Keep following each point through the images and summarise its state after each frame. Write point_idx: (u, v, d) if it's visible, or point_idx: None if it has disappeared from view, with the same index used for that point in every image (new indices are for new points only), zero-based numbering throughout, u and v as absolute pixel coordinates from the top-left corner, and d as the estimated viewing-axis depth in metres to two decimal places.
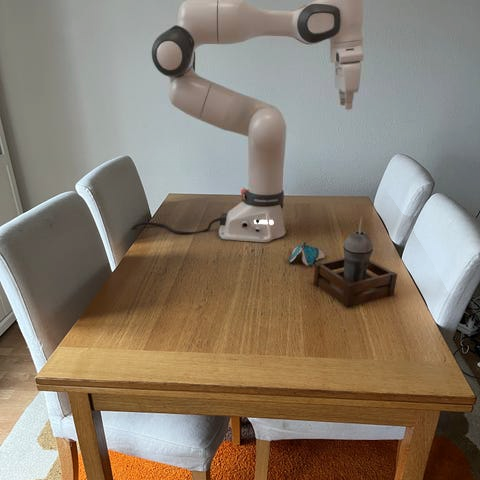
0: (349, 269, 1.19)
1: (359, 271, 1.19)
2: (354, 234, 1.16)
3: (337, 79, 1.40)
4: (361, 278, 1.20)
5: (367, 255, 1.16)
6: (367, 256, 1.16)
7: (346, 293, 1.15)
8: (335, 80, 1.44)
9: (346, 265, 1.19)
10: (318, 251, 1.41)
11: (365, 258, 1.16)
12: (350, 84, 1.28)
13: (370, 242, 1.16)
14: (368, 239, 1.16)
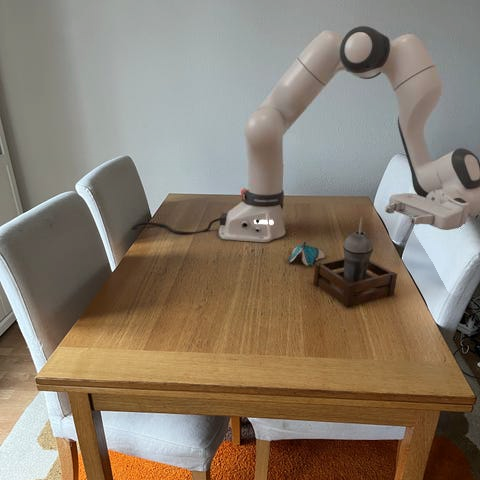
0: (349, 269, 1.19)
1: (359, 271, 1.19)
2: (354, 234, 1.16)
3: (411, 199, 1.24)
4: (361, 278, 1.20)
5: (367, 255, 1.16)
6: (367, 256, 1.16)
7: (346, 293, 1.15)
8: (399, 196, 1.27)
9: (346, 265, 1.19)
10: (318, 251, 1.41)
11: (365, 258, 1.16)
12: (452, 219, 1.14)
13: (370, 242, 1.16)
14: (368, 239, 1.16)
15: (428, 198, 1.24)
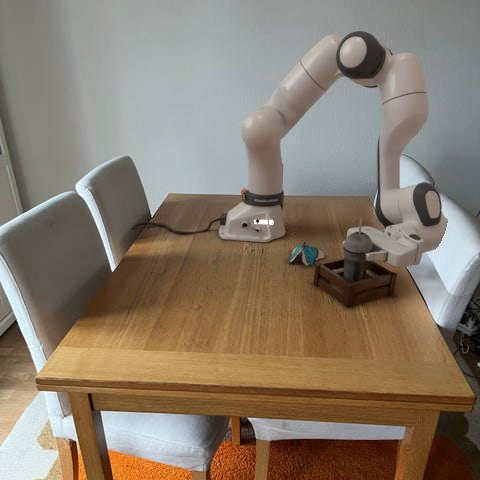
0: (349, 269, 1.19)
1: (359, 271, 1.19)
2: (354, 234, 1.16)
3: (368, 234, 1.23)
4: (361, 278, 1.20)
5: None
6: None
7: (346, 293, 1.15)
8: (357, 229, 1.26)
9: (346, 265, 1.19)
10: (318, 251, 1.41)
11: None
12: (405, 257, 1.13)
13: (370, 242, 1.16)
14: (368, 239, 1.16)
15: (384, 233, 1.22)
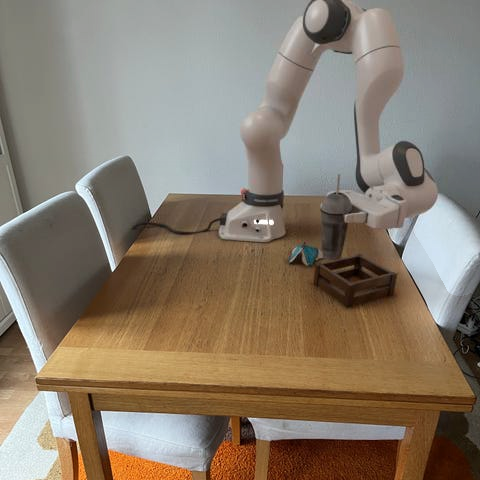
0: (327, 233, 1.11)
1: (337, 235, 1.10)
2: (331, 194, 1.08)
3: (348, 196, 1.15)
4: (340, 243, 1.12)
5: None
6: None
7: (346, 293, 1.15)
8: None
9: (324, 229, 1.11)
10: (318, 251, 1.41)
11: None
12: (386, 218, 1.04)
13: (349, 202, 1.07)
14: (346, 199, 1.07)
15: (365, 195, 1.14)
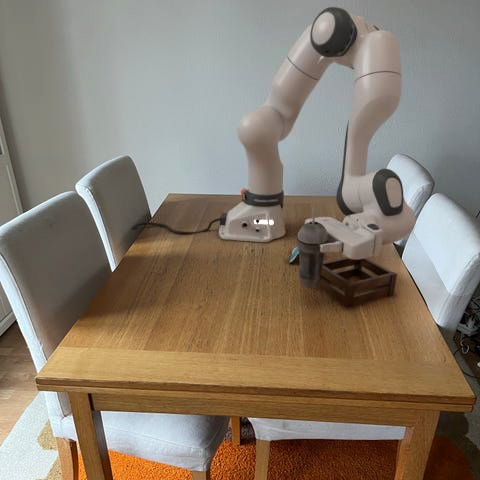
0: (304, 262, 1.11)
1: (314, 264, 1.11)
2: (307, 224, 1.08)
3: (325, 224, 1.15)
4: (317, 271, 1.12)
5: None
6: None
7: (346, 293, 1.15)
8: None
9: (301, 257, 1.12)
10: None
11: None
12: (361, 248, 1.05)
13: (324, 232, 1.08)
14: (322, 229, 1.08)
15: (342, 223, 1.15)
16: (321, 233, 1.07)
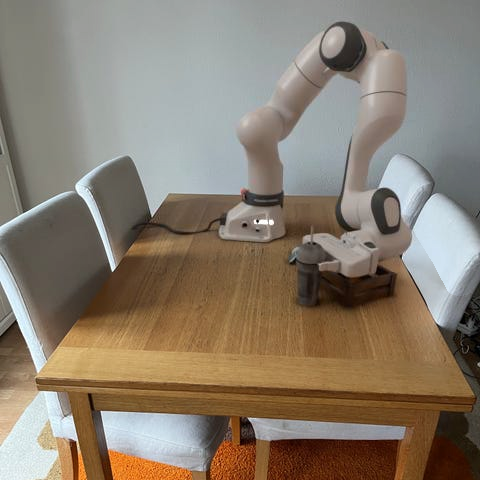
0: (302, 281, 1.14)
1: (312, 283, 1.13)
2: (306, 244, 1.11)
3: (323, 241, 1.18)
4: (315, 290, 1.15)
5: None
6: None
7: (346, 293, 1.15)
8: None
9: (299, 276, 1.14)
10: None
11: (317, 269, 1.11)
12: (358, 267, 1.07)
13: (322, 253, 1.10)
14: (320, 249, 1.10)
15: (340, 241, 1.17)
16: (319, 253, 1.10)
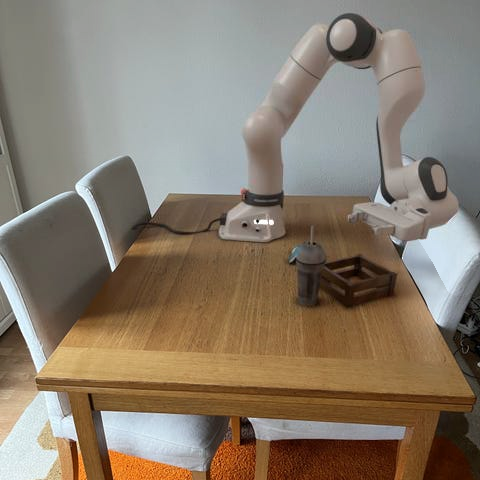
0: (302, 281, 1.14)
1: (312, 283, 1.13)
2: (306, 244, 1.11)
3: (374, 209, 1.22)
4: (315, 290, 1.15)
5: (319, 266, 1.11)
6: (320, 267, 1.11)
7: (346, 293, 1.15)
8: (363, 205, 1.25)
9: (299, 276, 1.14)
10: None
11: (317, 269, 1.11)
12: (412, 230, 1.12)
13: (322, 253, 1.10)
14: (320, 249, 1.10)
15: (391, 208, 1.21)
16: (319, 253, 1.10)
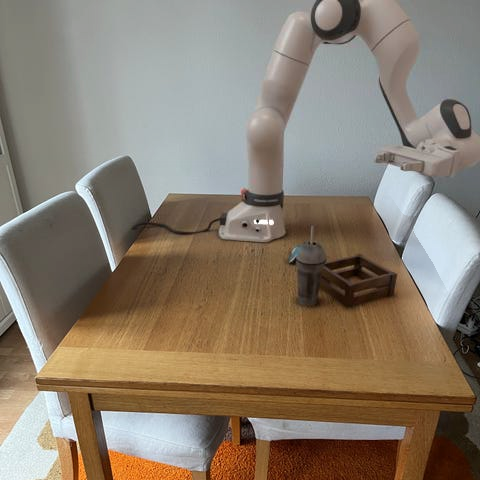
0: (302, 281, 1.14)
1: (312, 283, 1.13)
2: (306, 244, 1.11)
3: (401, 149, 1.22)
4: (315, 290, 1.15)
5: (319, 266, 1.11)
6: (320, 267, 1.11)
7: (346, 293, 1.15)
8: (389, 147, 1.25)
9: (299, 276, 1.14)
10: None
11: (317, 269, 1.11)
12: (441, 165, 1.12)
13: (322, 253, 1.10)
14: (320, 249, 1.10)
15: (418, 148, 1.21)
16: (319, 253, 1.10)
